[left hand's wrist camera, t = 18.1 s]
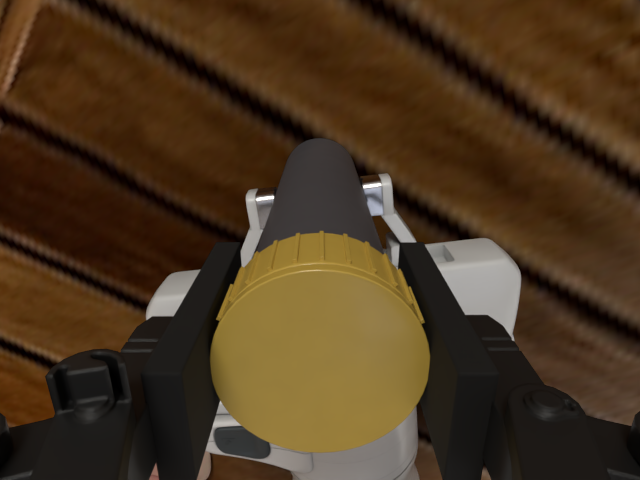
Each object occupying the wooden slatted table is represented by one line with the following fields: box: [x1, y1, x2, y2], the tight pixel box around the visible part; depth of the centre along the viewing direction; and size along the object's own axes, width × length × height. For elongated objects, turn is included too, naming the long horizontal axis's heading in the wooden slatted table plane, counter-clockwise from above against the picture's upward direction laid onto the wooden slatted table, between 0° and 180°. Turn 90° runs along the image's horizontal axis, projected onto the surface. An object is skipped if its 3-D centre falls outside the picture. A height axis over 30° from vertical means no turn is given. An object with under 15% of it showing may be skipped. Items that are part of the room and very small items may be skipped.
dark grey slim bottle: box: [256, 138, 384, 254], centre depth 20 cm, size 4×4×20 cm
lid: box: [210, 231, 430, 453], centre depth 11 cm, size 5×5×2 cm
